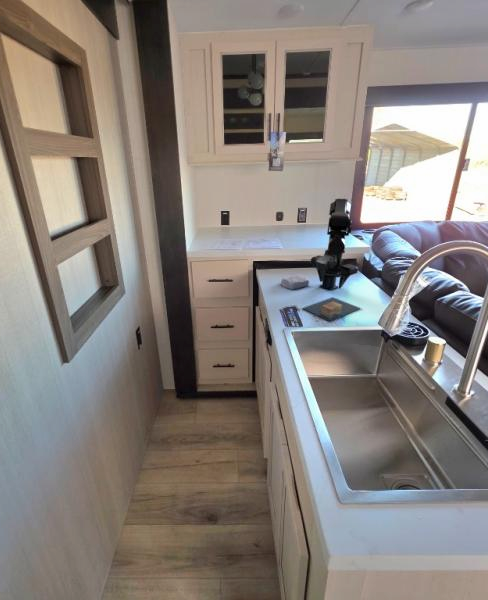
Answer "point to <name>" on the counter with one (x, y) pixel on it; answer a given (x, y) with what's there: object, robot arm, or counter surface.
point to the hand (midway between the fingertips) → (330, 284)
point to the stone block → (295, 282)
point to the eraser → (331, 309)
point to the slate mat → (317, 307)
